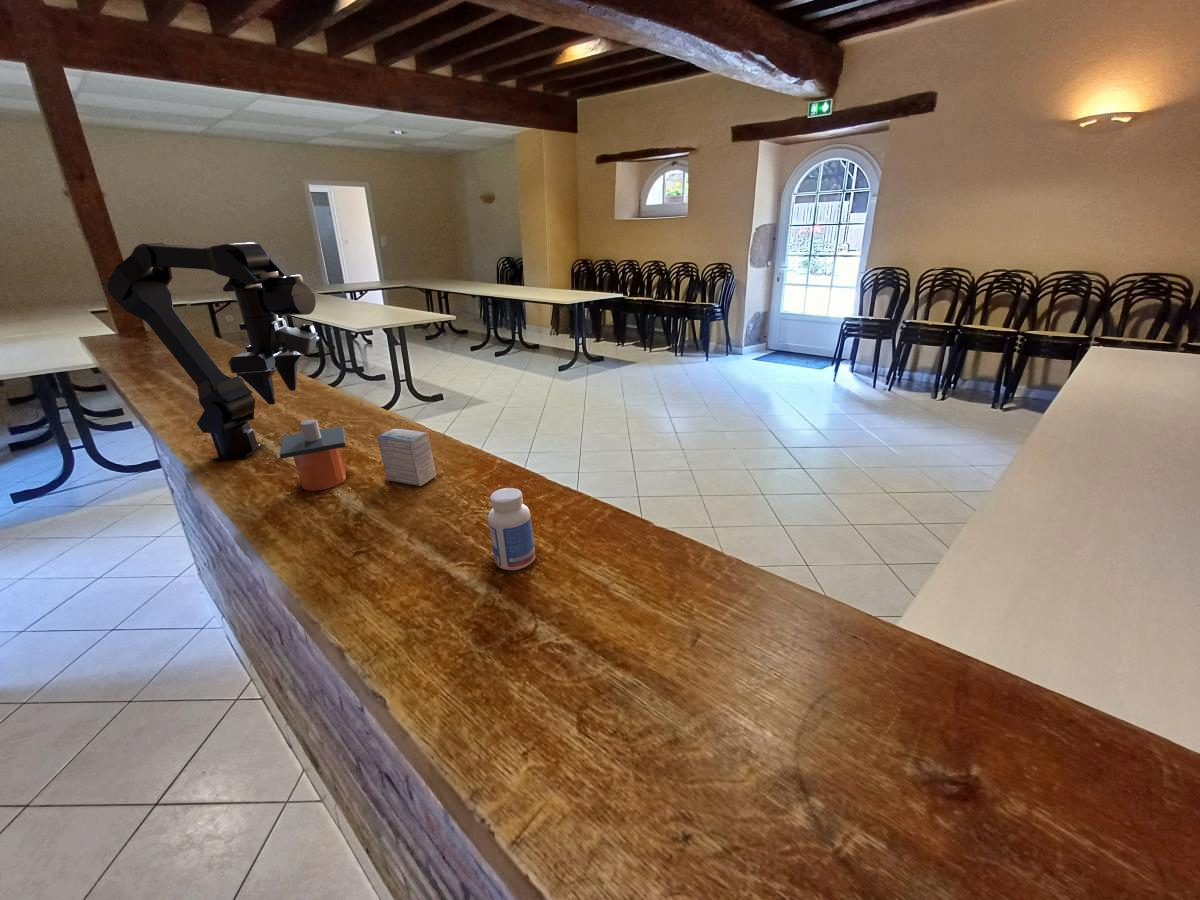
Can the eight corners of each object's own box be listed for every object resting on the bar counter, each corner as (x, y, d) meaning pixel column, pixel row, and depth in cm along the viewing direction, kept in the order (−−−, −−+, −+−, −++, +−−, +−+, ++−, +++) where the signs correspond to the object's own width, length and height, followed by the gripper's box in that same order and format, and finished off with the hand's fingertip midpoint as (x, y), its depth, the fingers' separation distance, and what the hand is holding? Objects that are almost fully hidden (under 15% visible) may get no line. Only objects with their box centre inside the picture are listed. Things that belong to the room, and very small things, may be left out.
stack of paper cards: (437, 477, 99) (429, 432, 96) (420, 487, 96) (411, 441, 92) (403, 471, 103) (394, 427, 99) (386, 481, 99) (376, 436, 95)
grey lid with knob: (280, 459, 91) (273, 436, 89) (284, 439, 99) (278, 419, 98) (345, 446, 95) (340, 424, 93) (343, 429, 103) (338, 409, 102)
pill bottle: (542, 551, 75) (535, 487, 71) (524, 574, 70) (516, 507, 67) (506, 546, 77) (498, 483, 73) (487, 568, 72) (476, 502, 68)
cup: (295, 492, 96) (283, 453, 93) (311, 474, 103) (301, 437, 100) (338, 488, 97) (327, 449, 94) (351, 471, 103) (342, 434, 101)
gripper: (282, 321, 93) (306, 408, 99) (323, 305, 110) (341, 381, 116) (214, 325, 92) (242, 413, 98) (266, 309, 110) (287, 385, 116)
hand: (282, 397), depth 107 cm, fingers open, 9 cm apart
